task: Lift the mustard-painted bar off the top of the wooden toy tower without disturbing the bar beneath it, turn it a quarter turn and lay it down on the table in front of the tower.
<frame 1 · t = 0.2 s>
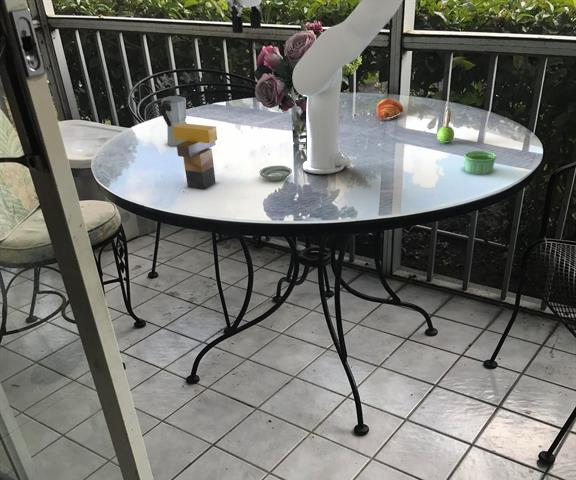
hand: (247, 30, 175), 37 cm above the table, tool pointing down, fingers open, 9 cm apart
tower: (201, 185, 180), on the table, touching lower bar
ramekin: (478, 171, 180), on the table
lower bar: (197, 150, 174), point 10 cm above the table, touching top bar, tower
croissant: (389, 116, 234), on the table
coffee maker: (178, 144, 216), on the table
top bar: (195, 139, 172), point 13 cm above the table, touching lower bar
saucer: (276, 179, 182), on the table
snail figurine: (444, 144, 203), on the table
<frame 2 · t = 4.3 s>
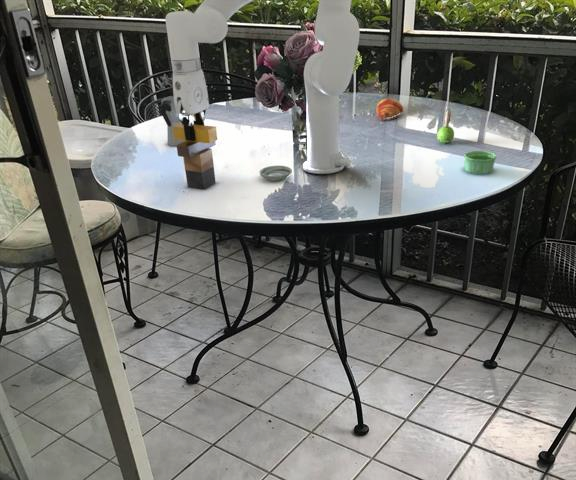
hand: (195, 137, 172), 14 cm above the table, tool pointing down, fingers closed on top bar, 4 cm apart
top bar: (195, 139, 172), point 13 cm above the table, touching gripper, lower bar
everything else where it was.
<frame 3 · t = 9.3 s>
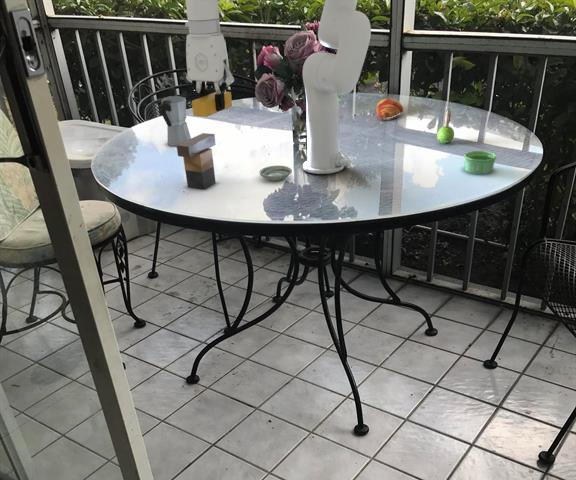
hand: (213, 108, 157), 23 cm above the table, tool pointing down, fingers closed on top bar, 4 cm apart
lower bar: (197, 150, 174), point 10 cm above the table, touching tower
top bar: (213, 110, 158), point 23 cm above the table, touching gripper
everything else where it was.
when the fingers open (1 cm above the table, at t = 14.5 s): top bar stays where it is, on the table.
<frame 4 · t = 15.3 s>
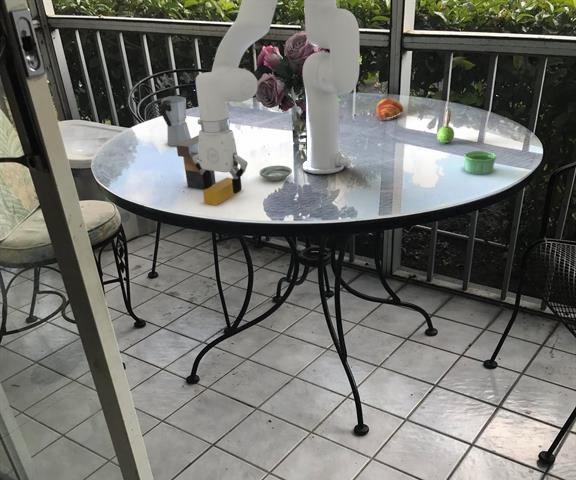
hand: (222, 189, 170), 2 cm above the table, tool pointing down, fingers open, 9 cm apart
top bar: (222, 197, 171), on the table
everything else where it was.
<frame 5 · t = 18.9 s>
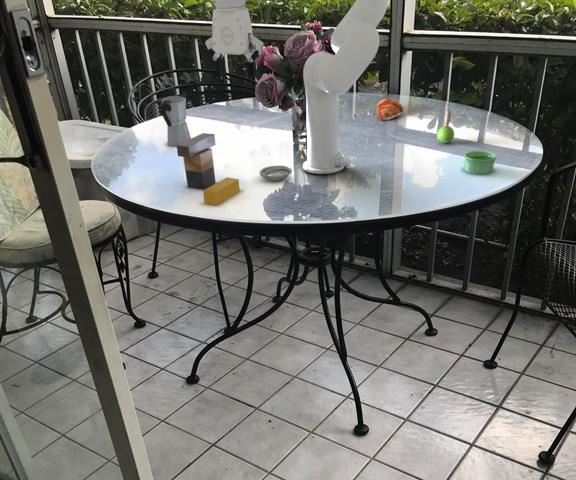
hand: (236, 77, 164), 28 cm above the table, tool pointing down, fingers open, 9 cm apart
nothing on the table moved.
at the end: top bar inside the target area (0.2 cm from its centre), on the table; lower bar 0.0 cm off-centre on the tower, point 10.0 cm above the tower's base; tower tilted 0° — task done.
